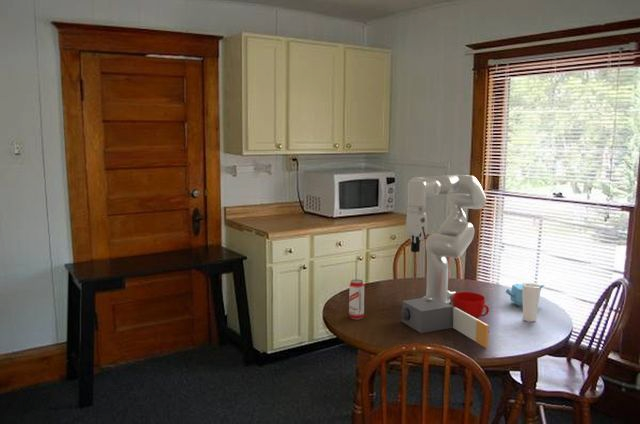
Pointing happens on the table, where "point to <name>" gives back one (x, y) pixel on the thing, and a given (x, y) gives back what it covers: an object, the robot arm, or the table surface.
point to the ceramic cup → (470, 303)
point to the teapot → (517, 294)
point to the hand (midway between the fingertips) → (415, 251)
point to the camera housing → (427, 314)
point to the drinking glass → (530, 301)
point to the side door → (470, 326)
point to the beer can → (356, 299)
